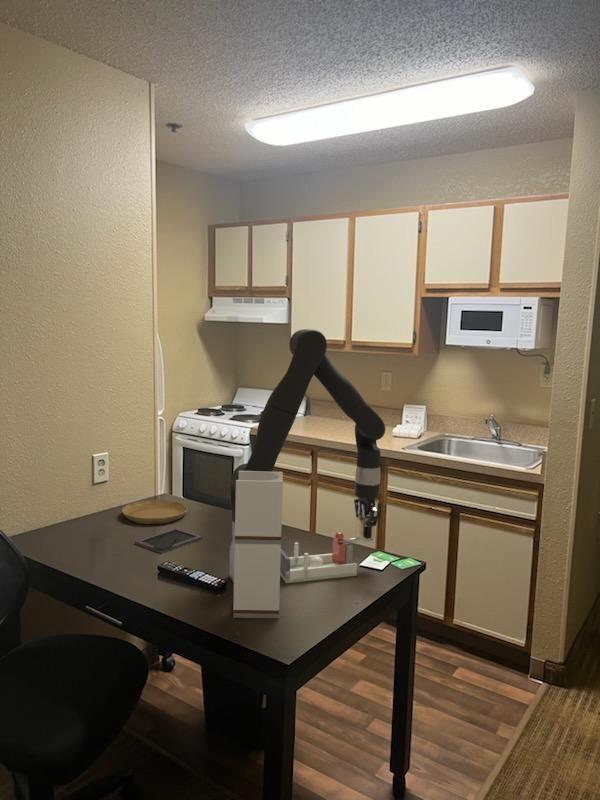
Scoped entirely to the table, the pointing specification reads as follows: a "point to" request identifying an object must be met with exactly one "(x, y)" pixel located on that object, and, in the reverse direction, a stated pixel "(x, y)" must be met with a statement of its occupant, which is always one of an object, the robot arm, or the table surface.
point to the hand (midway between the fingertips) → (365, 535)
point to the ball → (316, 561)
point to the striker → (349, 541)
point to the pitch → (302, 571)
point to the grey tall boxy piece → (257, 544)
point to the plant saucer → (154, 511)
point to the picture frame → (168, 540)
